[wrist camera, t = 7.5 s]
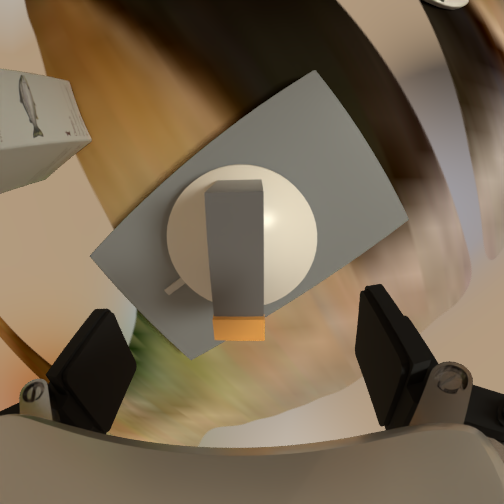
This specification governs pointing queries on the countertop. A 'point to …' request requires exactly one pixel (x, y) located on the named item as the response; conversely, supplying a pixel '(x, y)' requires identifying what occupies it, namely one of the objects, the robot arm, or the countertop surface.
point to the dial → (241, 244)
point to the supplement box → (36, 127)
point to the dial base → (287, 165)
